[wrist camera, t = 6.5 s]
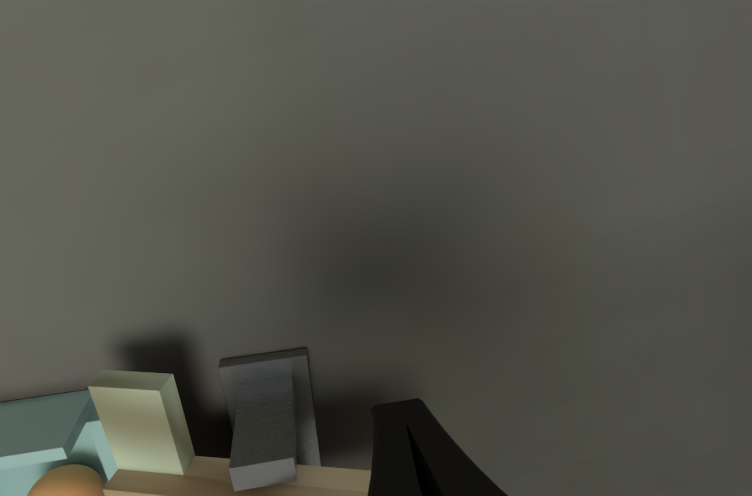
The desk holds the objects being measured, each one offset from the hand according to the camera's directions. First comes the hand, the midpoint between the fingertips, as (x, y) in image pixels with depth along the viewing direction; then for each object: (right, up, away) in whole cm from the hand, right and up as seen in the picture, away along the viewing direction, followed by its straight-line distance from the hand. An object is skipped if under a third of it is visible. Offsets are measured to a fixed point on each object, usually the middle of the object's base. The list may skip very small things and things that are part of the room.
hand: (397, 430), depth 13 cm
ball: (-15, -7, +9) cm, 18 cm away
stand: (-6, -5, +12) cm, 14 cm away
